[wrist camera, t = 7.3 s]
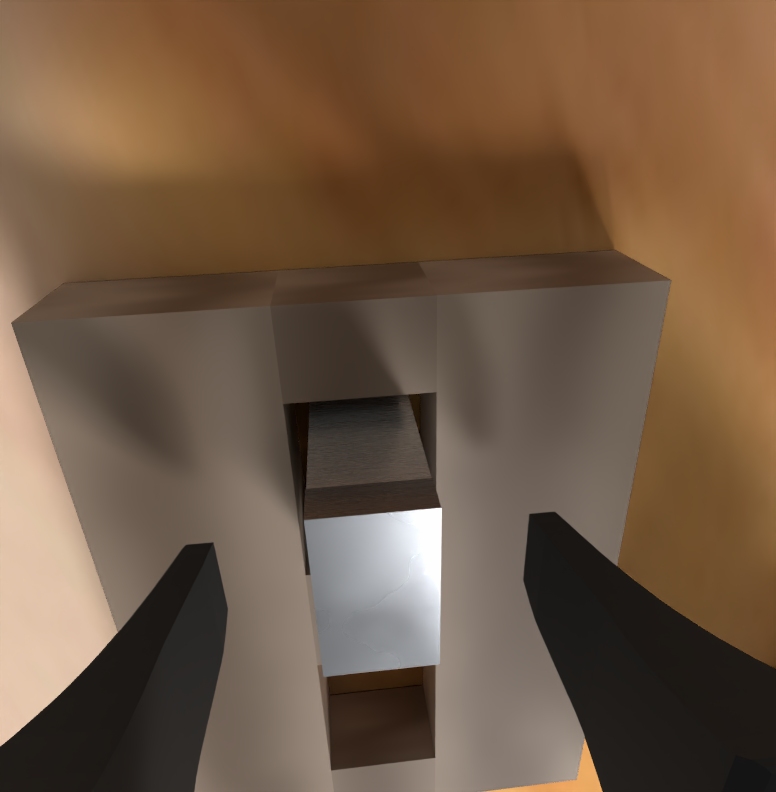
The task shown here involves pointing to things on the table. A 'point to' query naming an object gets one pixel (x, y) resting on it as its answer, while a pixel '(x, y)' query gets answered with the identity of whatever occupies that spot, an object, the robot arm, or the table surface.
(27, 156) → the table surface
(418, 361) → the post foot
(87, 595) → the table surface
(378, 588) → the brushed metal block
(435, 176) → the table surface
